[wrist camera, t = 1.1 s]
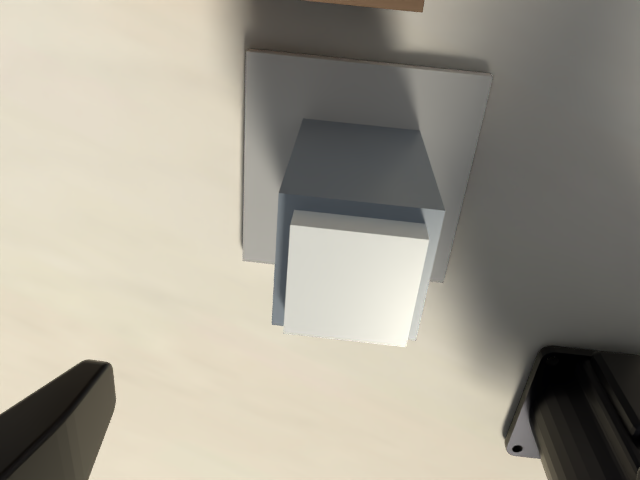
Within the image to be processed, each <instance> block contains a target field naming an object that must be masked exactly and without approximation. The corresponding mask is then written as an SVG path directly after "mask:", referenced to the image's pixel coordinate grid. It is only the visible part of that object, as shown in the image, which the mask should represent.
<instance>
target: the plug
mask: <svg viewBox="0 0 640 480" xmlns="http://www.w3.org/2000/svg"><path fill="white" fill-rule="evenodd" d="M444 215H445V208H444V205H443V202H442V198H441V195H440V192H439V189H438V186H437V183H436V179H435V176H434V173H433V170H432V167H431V164H430V160H429V157H428V154H427V151H426V148H425V145H424V141H423V138H422V135H421V132H420V130H410V129H401V128H391V127H382V126H372V125H362V124H353V123H343V122H334V121H324V120H314V119H305V118H303V120H302V123H301V126H300V129H299V132H298V135H297V138H296V142H295V145H294V148H293V151H292V154H291V157H290V160H289V163H288V166H287V169H286V172H285V175H284V178H283V181H282V184H281V187H280V190H279V194H278V213H277V233H276V252H275V271H274V291H273V310H272V325H280V326H284V329H283V334H292V335H301V336H310V337H319V338H328V339H337V340H346V341H355V342H364V343H373V344H382V345H391V346H400V347H406V345H407V341H408V340H415V341H416V339H417V334H418V330H419V325H420V321H421V316H422V312H423V308H424V303H425V299H426V294H427V290H428V286H429V281H430V277H431V272H432V268H433V263H434V259H435V255H436V250H437V246H438V241H439V237H440V232H441V228H442V224H443V219H444Z"/></svg>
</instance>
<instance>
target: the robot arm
mask: <svg viewBox="0 0 640 480" xmlns="http://www.w3.org/2000/svg"><path fill="white" fill-rule="evenodd" d="M550 357H554V358H552V359H548V358H550ZM115 403H116V395H115V385H114V375H113V368H112V365H111V364H110V363H108V362H104V361H97V360H84V361H82V362H80V363H79V364H77V365H75V366H74V367H72V368H71V369H69V370H68V371H66V372H65V373H63V374H62V375H60V376H59V377H57V378H55V379H54V380H52V381H51V382H49V383H48V384H46V385H45V386H43V387H42V388H40V389H38V390H37V391H35V392H34V393H32V394H31V395H29V396H28V397H26V398H25V399H23V400H22V401H20V402H18V403H17V404H15V405H14V406H12V407H11V408H9V409H8V410H6V411H5V412H3V413H2V414H0V480H88V479H89V476H90V473H91V471H92V468H93V465H94V463H95V460H96V457H97V455H98V452H99V449H100V447H101V444H102V441H103V439H104V436H105V433H106V431H107V428H108V425H109V423H110V420H111V417H112V415H113V412H114V408H115ZM505 447H506V450H507V452H508V453H509V454H510V455H513V456H520V457H529V458H538V459H541V461H542V464H543V467H544V470H545V473H546V476H547V479H548V480H640V355H631V354H622V353H613V352H604V351H595V350H586V349H577V348H568V347H559V346H547V347H544V348H542V349H541V350H540V351H539V353H538V354H537V357H536V360H535V362H534V365H533V368H532V370H531V373H530V376H529V378H528V381H527V383H526V386H525V389H524V391H523V394H522V397H521V399H520V402H519V405H518V407H517V410H516V413H515V415H514V418H513V420H512V423H511V426H510V428H509V431H508V434H507V436H506V439H505Z"/></svg>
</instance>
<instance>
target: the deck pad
mask: <svg viewBox="0 0 640 480" xmlns="http://www.w3.org/2000/svg"><path fill="white" fill-rule="evenodd" d="M492 80H493V76H492V75H491V74H490V73H482V72H472V71H463V70H453V69H443V68H433V67H424V66H414V65H404V64H394V63H384V62H375V61H365V60H355V59H345V58H336V57H326V56H316V55H306V54H296V53H287V52H277V51H267V50H257V49H248V50H247V51H246V81H245V144H244V207H243V261H248V262H257V263H267V264H275V252H276V233H277V213H278V194H279V190H280V187H281V184H282V181H283V178H284V175H285V172H286V169H287V166H288V163H289V160H290V157H291V154H292V151H293V148H294V145H295V142H296V138H297V135H298V132H299V129H300V126H301V123H302V120H303V118H305V119H314V120H324V121H334V122H343V123H353V124H362V125H372V126H382V127H391V128H401V129H410V130H420V132H421V135H422V138H423V141H424V145H425V148H426V151H427V154H428V157H429V160H430V164H431V167H432V170H433V173H434V176H435V179H436V183H437V186H438V189H439V192H440V195H441V198H442V202H443V205H444V208H445V215H444V219H443V224H442V228H441V232H440V237H439V241H438V246H437V250H436V255H435V259H434V263H433V268H432V272H431V277H430V281H432V282H441V283H443V282H444V278H445V274H446V270H447V266H448V262H449V258H450V254H451V249H452V245H453V241H454V237H455V233H456V229H457V225H458V221H459V216H460V212H461V208H462V204H463V200H464V196H465V192H466V188H467V183H468V179H469V175H470V171H471V167H472V163H473V159H474V155H475V150H476V146H477V142H478V138H479V134H480V130H481V126H482V121H483V117H484V113H485V109H486V105H487V101H488V97H489V93H490V88H491V84H492Z"/></svg>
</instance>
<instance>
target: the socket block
mask: <svg viewBox="0 0 640 480" xmlns="http://www.w3.org/2000/svg"><path fill="white" fill-rule="evenodd" d="M303 1H313V2H323V3H333V4H343V5H353V6H363V7H373V8H383V9H393V10H403V11H413V12H423V6H424V0H303Z"/></svg>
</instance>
